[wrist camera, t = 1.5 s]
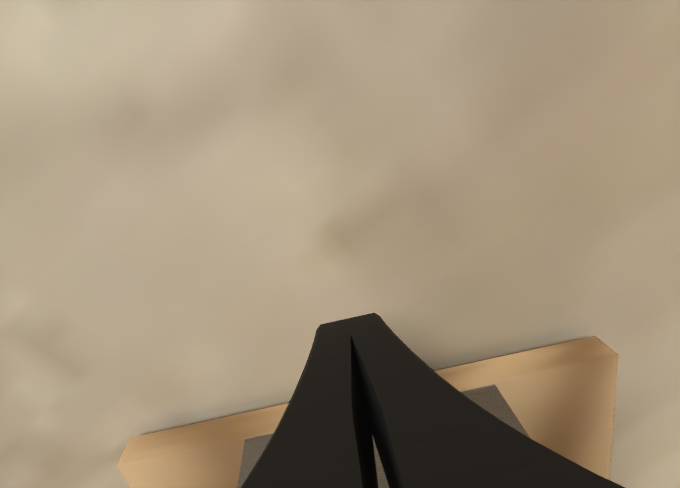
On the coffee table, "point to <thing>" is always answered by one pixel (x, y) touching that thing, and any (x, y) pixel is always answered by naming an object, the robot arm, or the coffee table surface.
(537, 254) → the coffee table surface
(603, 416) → the wooden base with peg
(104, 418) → the coffee table surface
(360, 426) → the robot arm
